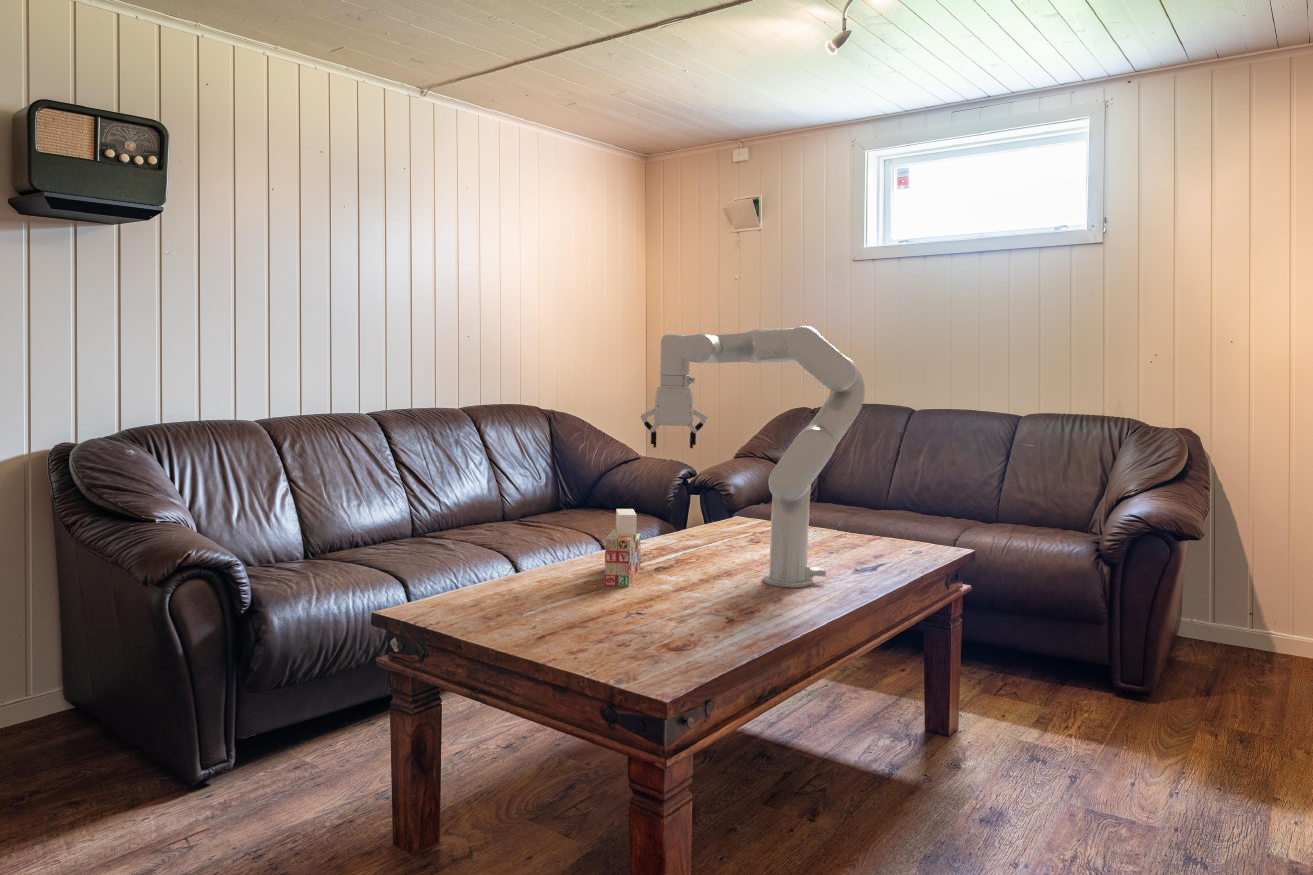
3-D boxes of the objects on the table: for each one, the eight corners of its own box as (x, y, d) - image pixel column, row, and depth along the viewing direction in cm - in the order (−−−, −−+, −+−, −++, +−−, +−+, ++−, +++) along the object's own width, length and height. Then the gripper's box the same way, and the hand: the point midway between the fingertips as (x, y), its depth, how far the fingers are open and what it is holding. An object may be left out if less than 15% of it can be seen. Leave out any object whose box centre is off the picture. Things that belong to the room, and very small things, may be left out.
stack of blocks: (617, 566, 237) (618, 521, 236) (640, 567, 237) (641, 522, 236) (604, 586, 216) (605, 537, 215) (629, 587, 216) (630, 538, 214)
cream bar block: (633, 527, 228) (633, 508, 228) (636, 534, 219) (636, 515, 219) (615, 527, 228) (616, 508, 227) (618, 534, 219) (618, 515, 219)
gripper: (706, 382, 231) (705, 446, 232) (641, 381, 231) (640, 445, 232) (708, 383, 223) (706, 449, 225) (641, 381, 223) (639, 448, 225)
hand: (673, 447), depth 228 cm, fingers open, 9 cm apart
